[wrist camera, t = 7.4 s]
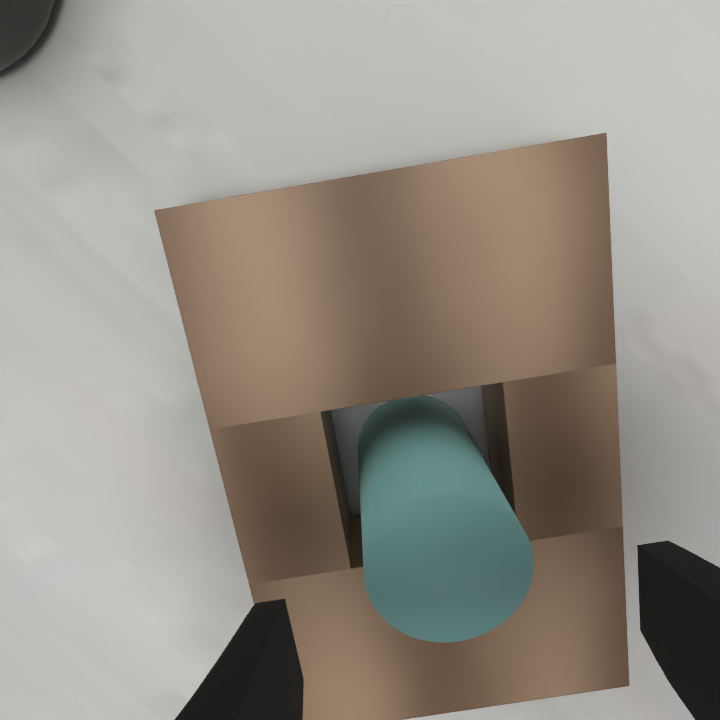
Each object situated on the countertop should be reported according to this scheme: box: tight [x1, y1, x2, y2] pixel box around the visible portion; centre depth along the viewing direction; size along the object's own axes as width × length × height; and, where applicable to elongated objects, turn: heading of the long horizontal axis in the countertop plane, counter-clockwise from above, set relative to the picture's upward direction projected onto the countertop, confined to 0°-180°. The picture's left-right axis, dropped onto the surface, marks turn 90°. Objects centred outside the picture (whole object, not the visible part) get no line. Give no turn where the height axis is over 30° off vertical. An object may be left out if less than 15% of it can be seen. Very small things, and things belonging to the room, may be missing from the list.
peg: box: [358, 396, 534, 642], centre depth 16 cm, size 4×4×7 cm
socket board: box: [154, 133, 629, 720], centre depth 18 cm, size 12×18×3 cm, turn 9°
